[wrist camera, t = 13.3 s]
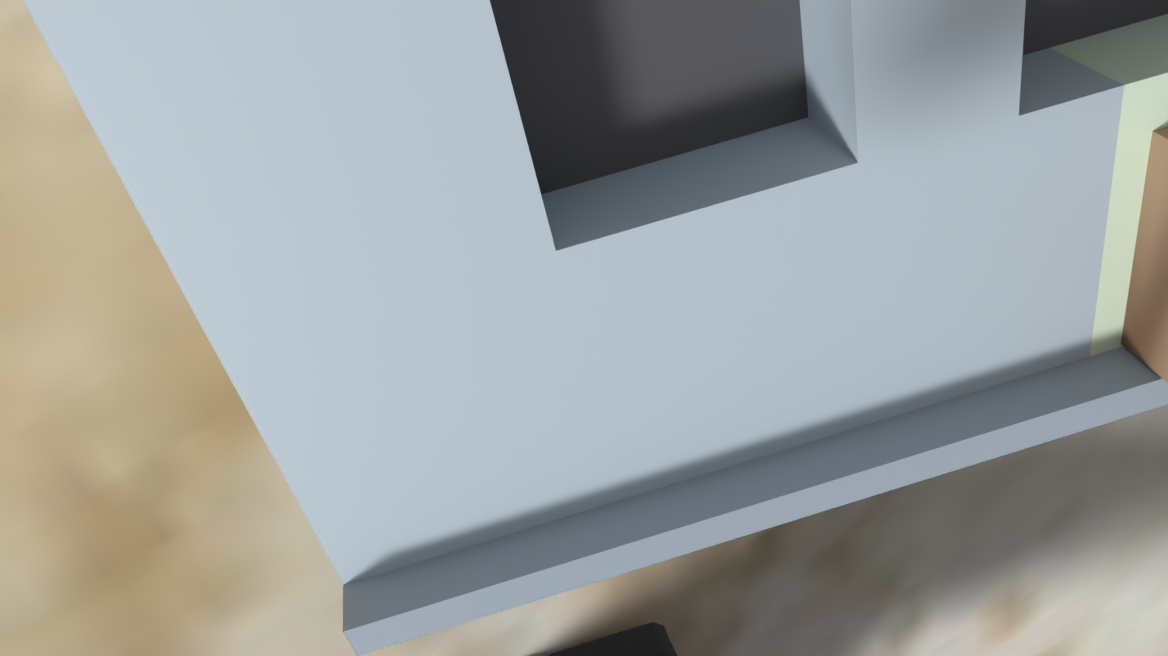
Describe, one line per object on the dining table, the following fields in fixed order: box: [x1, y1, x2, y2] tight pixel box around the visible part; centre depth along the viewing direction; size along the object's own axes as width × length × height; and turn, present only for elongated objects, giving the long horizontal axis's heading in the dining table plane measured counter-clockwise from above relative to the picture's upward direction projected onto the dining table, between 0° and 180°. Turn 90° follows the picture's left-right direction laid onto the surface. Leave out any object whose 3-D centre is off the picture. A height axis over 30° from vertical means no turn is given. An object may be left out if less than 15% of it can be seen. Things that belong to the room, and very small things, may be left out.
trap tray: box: [23, 0, 1168, 656], centre depth 18 cm, size 13×23×4 cm, turn 102°
